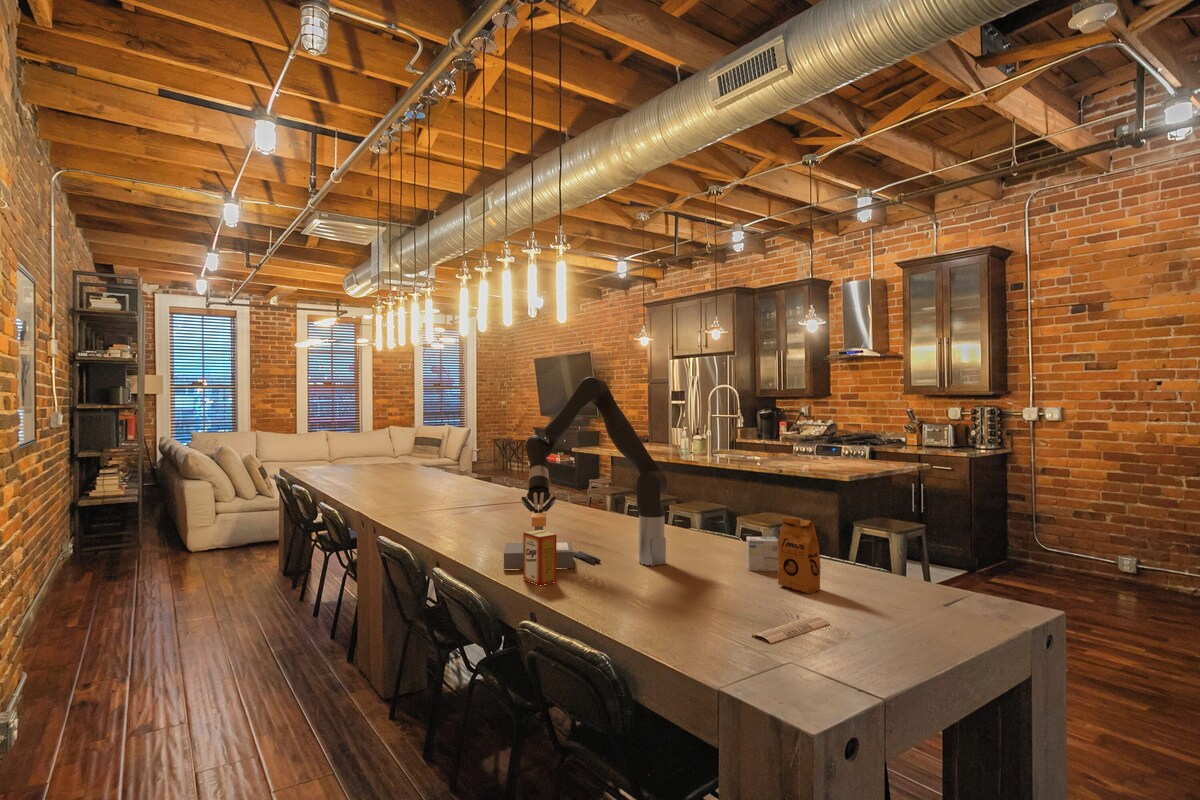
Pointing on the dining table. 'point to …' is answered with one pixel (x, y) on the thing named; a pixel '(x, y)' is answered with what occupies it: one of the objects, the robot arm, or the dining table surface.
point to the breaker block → (515, 555)
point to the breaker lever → (538, 520)
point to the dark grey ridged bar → (587, 557)
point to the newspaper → (792, 629)
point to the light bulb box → (762, 553)
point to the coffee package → (798, 556)
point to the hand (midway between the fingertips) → (538, 520)
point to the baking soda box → (539, 557)
